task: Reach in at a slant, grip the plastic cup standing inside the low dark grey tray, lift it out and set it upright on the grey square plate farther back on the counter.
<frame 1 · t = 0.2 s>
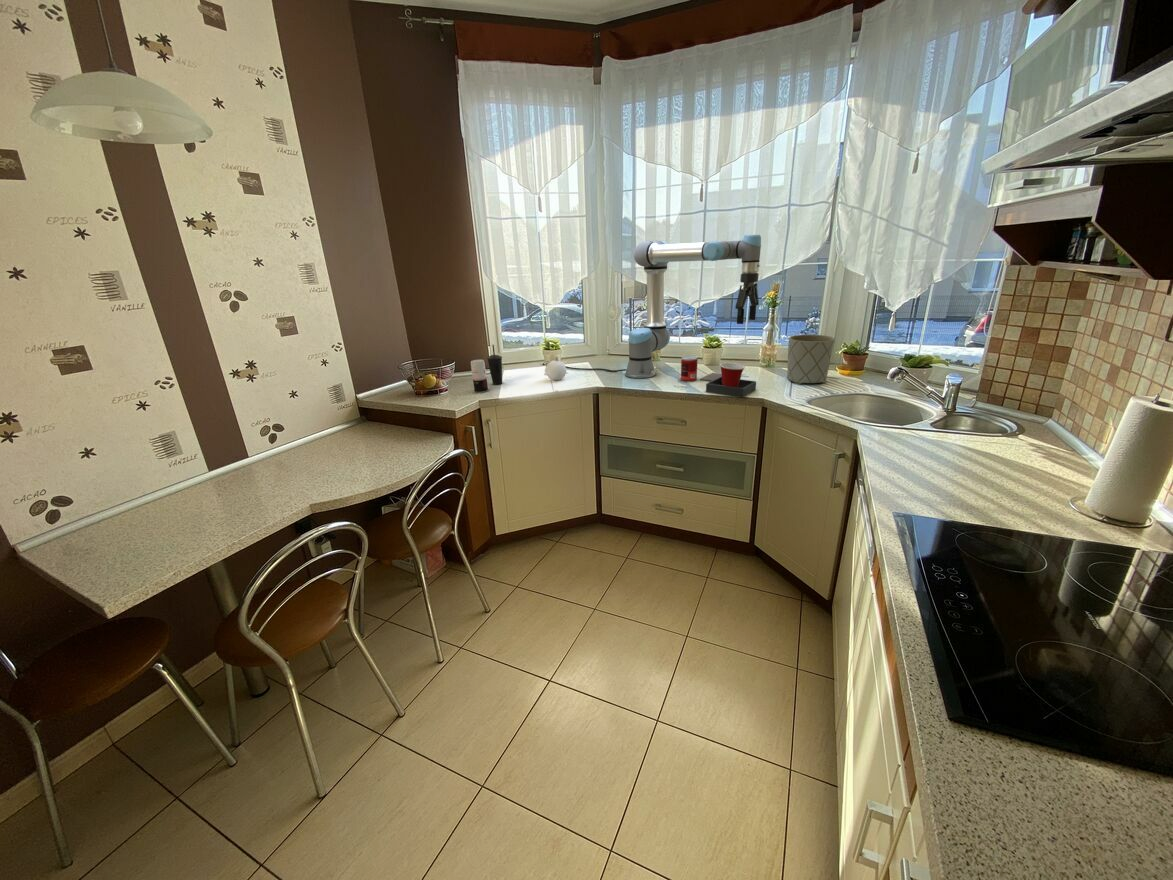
hand: (746, 321, 218), 28 cm above the worktop, tool pointing down, fingers open, 13 cm apart
grey square plate: (719, 378, 235), on the worktop
dark grey tray: (730, 391, 214), on the worktop
plastic cup: (730, 391, 214), resting in dark grey tray
canned food: (688, 379, 236), on the worktop
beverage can: (481, 391, 234), on the worktop
planter: (806, 381, 224), on the worktop
ornament: (556, 380, 248), on the worktop
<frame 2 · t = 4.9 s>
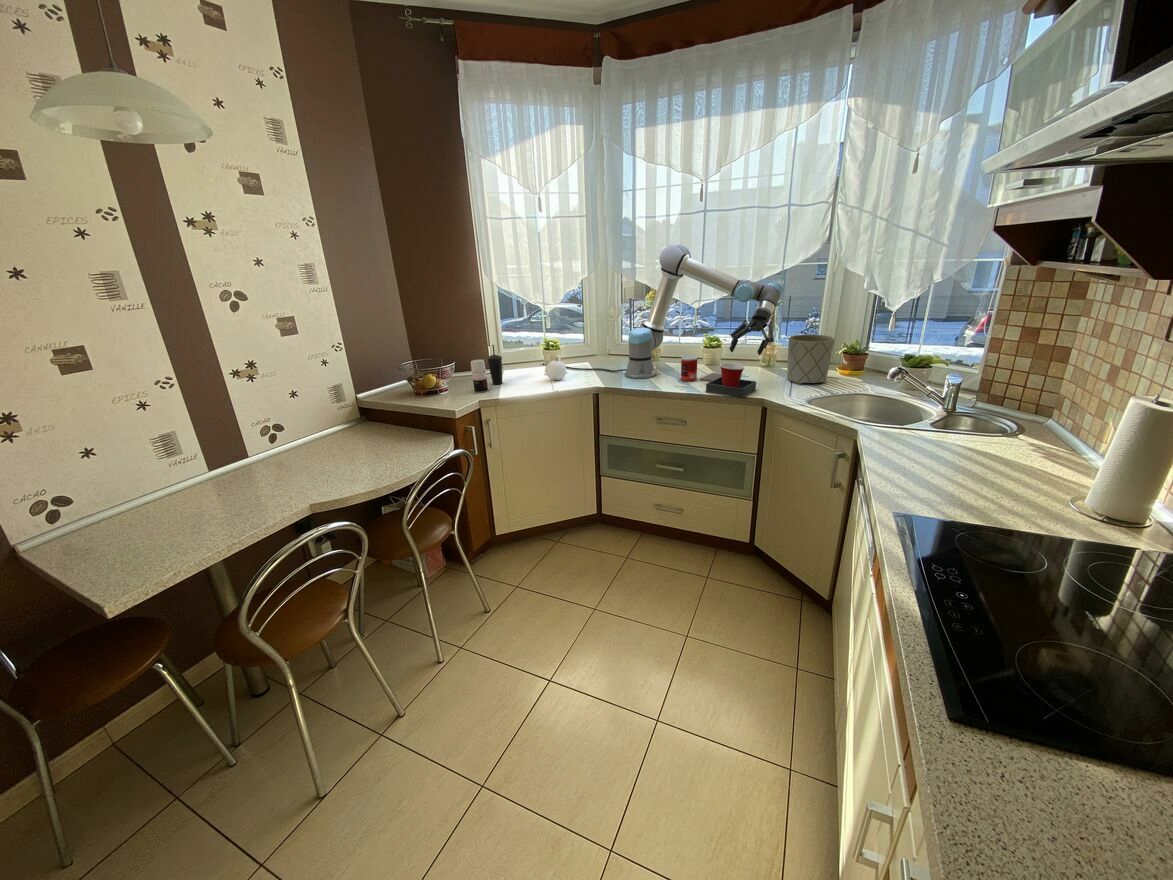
hand: (744, 352, 214), 16 cm above the worktop, tool tilted 45°, fingers open, 13 cm apart
nothing on the worktop moved.
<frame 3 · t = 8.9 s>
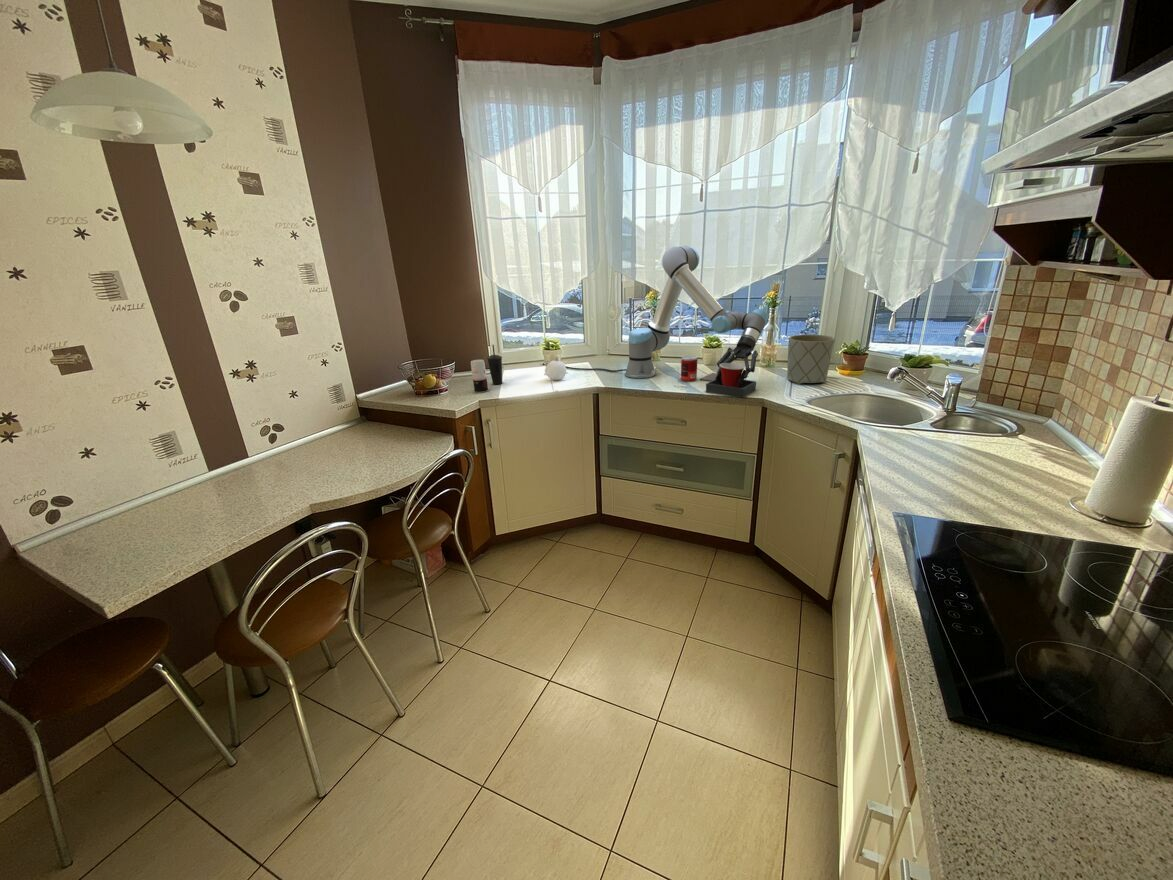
hand: (728, 382, 210), 5 cm above the worktop, tool tilted 45°, fingers closed on plastic cup, 10 cm apart
plastic cup: (730, 391, 214), resting in dark grey tray, touching gripper
everything else where it was.
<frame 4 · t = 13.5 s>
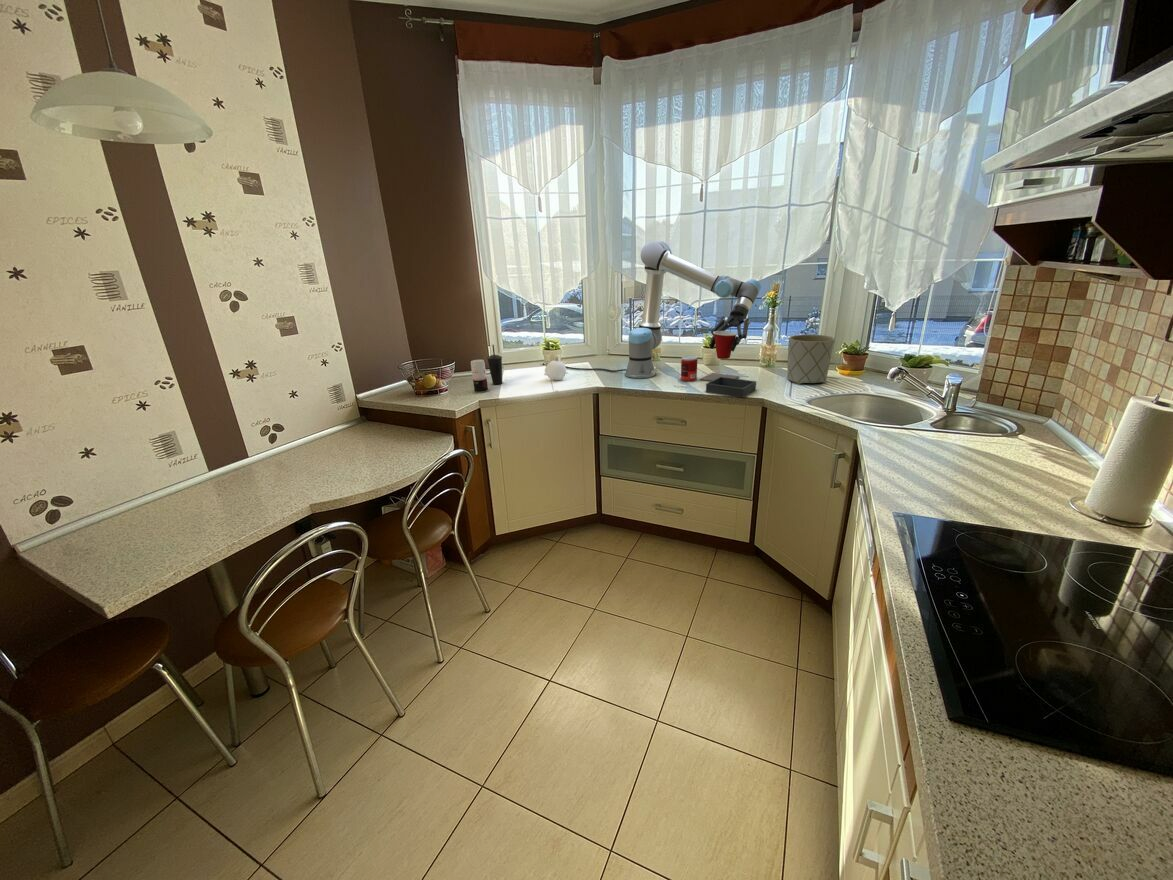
hand: (721, 348, 220), 17 cm above the worktop, tool tilted 45°, fingers closed on plastic cup, 10 cm apart
plastic cup: (723, 358, 223), point 12 cm above the worktop, touching gripper
everything else where it was.
when the fingers open (5 cm above the worktop, at t = 18.2 s): plastic cup stays where it is, resting on grey square plate.
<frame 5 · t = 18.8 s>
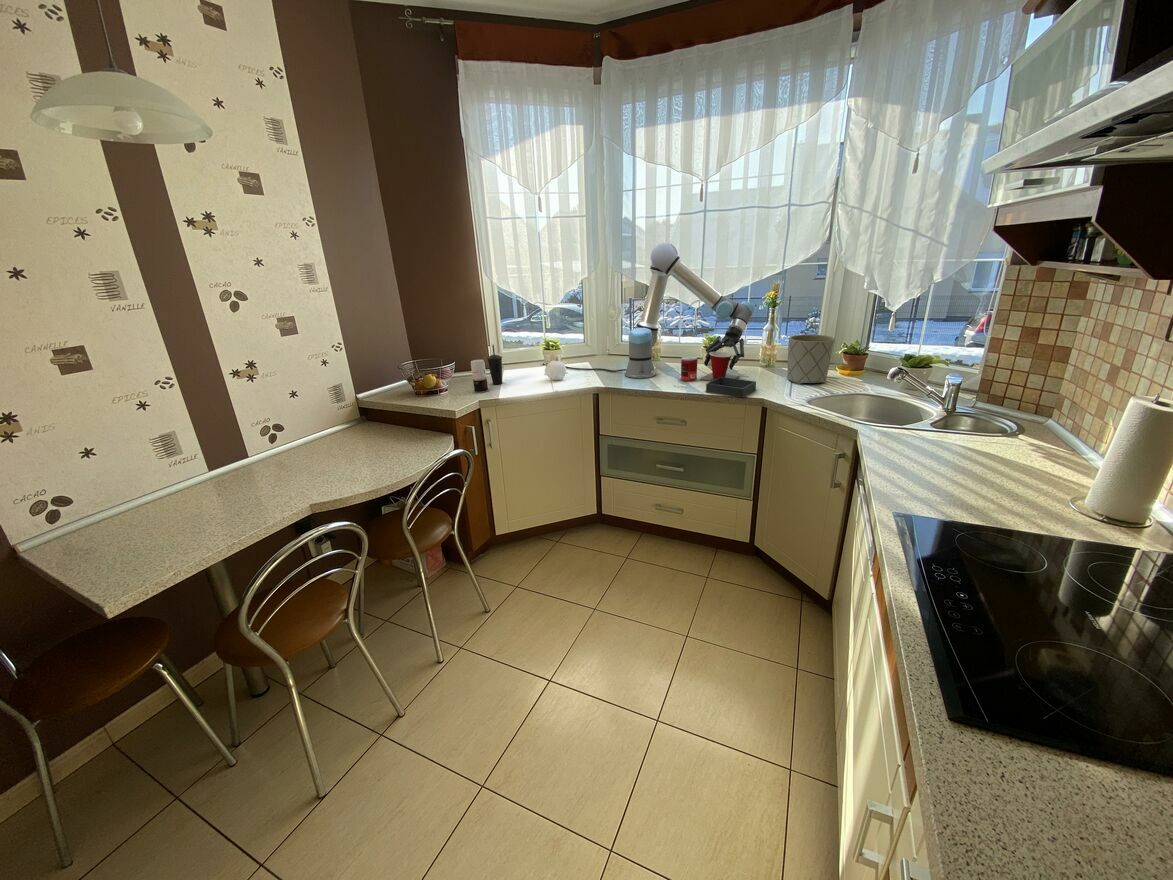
hand: (717, 366, 231), 7 cm above the worktop, tool tilted 45°, fingers open, 13 cm apart
plastic cup: (719, 377, 235), resting on grey square plate
everything else where it was.
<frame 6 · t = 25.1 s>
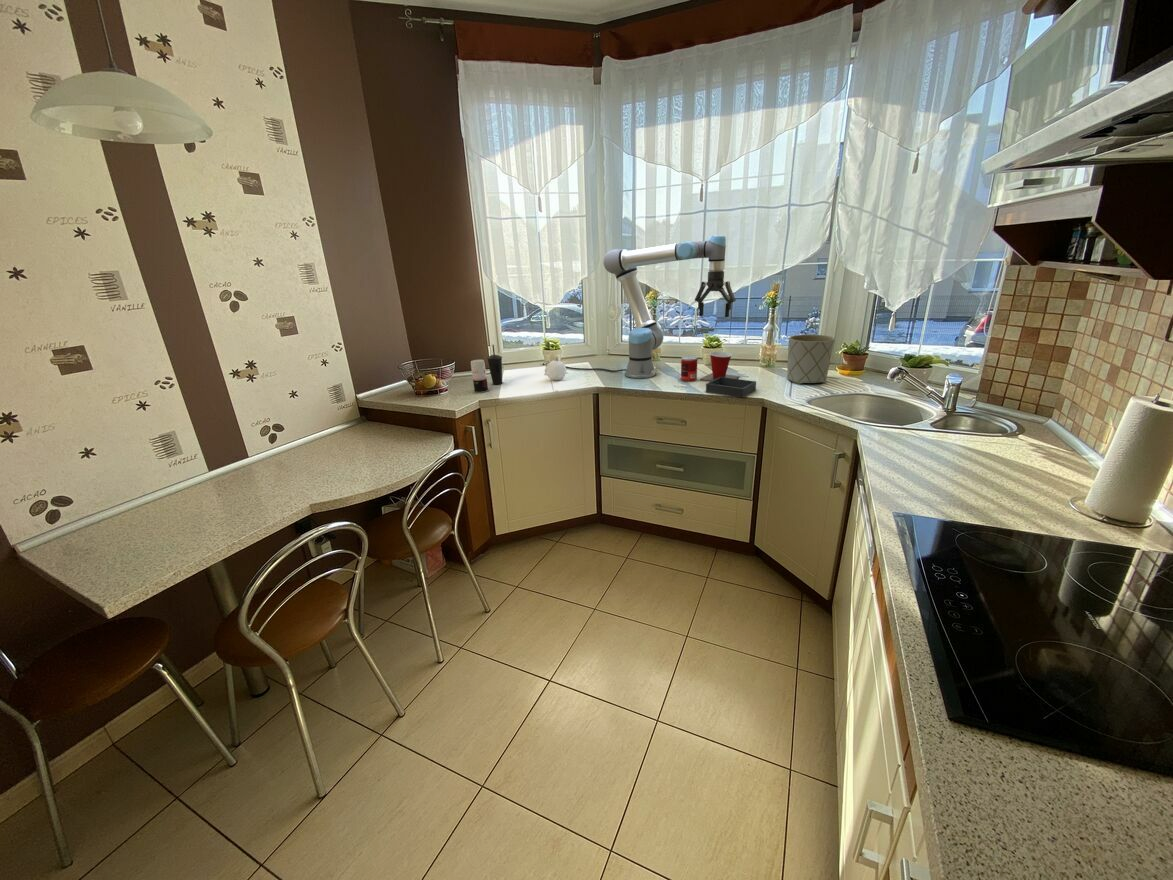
hand: (713, 316, 234), 29 cm above the worktop, tool pointing down, fingers open, 13 cm apart
nothing on the worktop moved.
at the end: plastic cup inside the target area on the grey square plate (0.1 cm from its centre), point 0.4 cm above the grey square plate's base; plastic cup tilted 0°; the gripper is holding nothing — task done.
